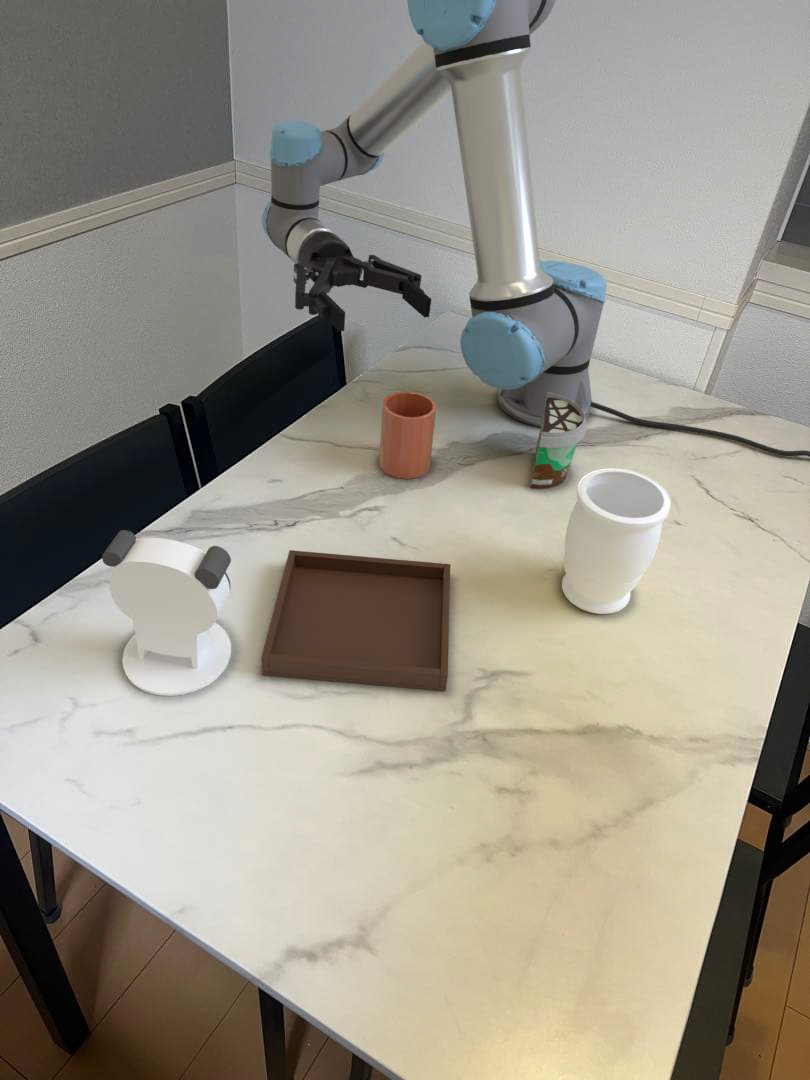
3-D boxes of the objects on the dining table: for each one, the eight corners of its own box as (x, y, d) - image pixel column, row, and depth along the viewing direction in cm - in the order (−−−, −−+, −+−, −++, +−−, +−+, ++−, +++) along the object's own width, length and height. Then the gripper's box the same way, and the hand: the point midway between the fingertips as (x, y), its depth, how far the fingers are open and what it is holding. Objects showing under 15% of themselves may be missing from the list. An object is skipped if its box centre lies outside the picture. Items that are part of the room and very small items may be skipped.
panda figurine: (250, 627, 90) (242, 523, 81) (215, 705, 82) (201, 600, 72) (149, 609, 91) (129, 505, 82) (104, 685, 83) (75, 578, 73)
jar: (586, 552, 104) (612, 456, 95) (654, 594, 99) (689, 497, 89) (535, 588, 98) (558, 490, 89) (605, 635, 93) (638, 536, 83)
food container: (572, 501, 113) (587, 441, 106) (529, 493, 113) (541, 433, 107) (576, 454, 122) (590, 396, 116) (536, 447, 123) (547, 390, 116)
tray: (448, 579, 98) (450, 563, 97) (445, 691, 85) (448, 675, 83) (290, 565, 99) (289, 549, 97) (262, 675, 85) (260, 658, 83)
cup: (430, 452, 120) (436, 393, 114) (429, 481, 114) (435, 420, 108) (381, 448, 120) (384, 389, 114) (377, 476, 114) (380, 416, 108)
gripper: (388, 268, 131) (457, 326, 118) (244, 287, 121) (303, 353, 108) (392, 222, 126) (465, 278, 113) (243, 238, 116) (304, 301, 103)
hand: (386, 315), depth 111 cm, fingers open, 13 cm apart
